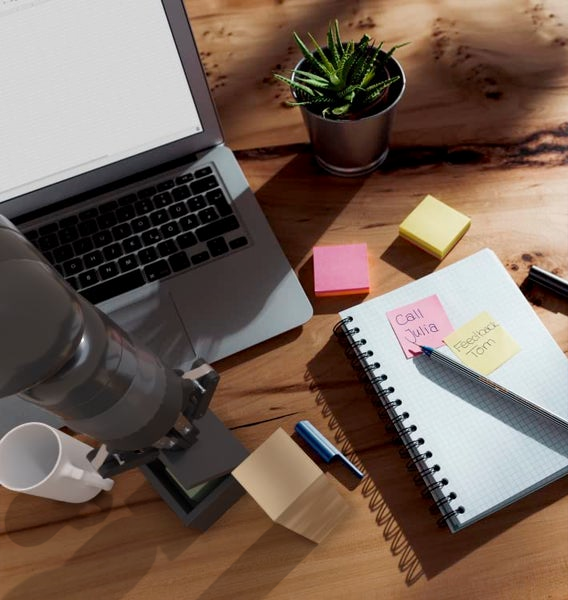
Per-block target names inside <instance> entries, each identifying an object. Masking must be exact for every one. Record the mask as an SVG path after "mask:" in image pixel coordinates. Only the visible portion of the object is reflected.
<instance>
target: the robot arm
mask: <svg viewBox="0 0 568 600" xmlns="http://www.w3.org/2000/svg"><path fill="white" fill-rule="evenodd" d="M220 380H221V375H219V373H218V372H217V371H216V370H215V369H214V368H213V367H212V366H211V365H210V364H209V362H207V360H205V359H204V358H203V357H199V358H197V359H196V360H194V362H192V364H191V367H190V369H189V370H188V371H187V372H185V371H184V370H183V369H181V368H171V367H170V366H169V365H168V364H167V363H166V362H164V360H163V359H162V358H160V357H159V356H158V355H157V353H155V352H154V351H153V350H151V348H150V347H148V345H147V344H145V343H144V342H143V341H142V340H140V339H139V337H137V336H136V335H134V334H131V333H130V332H129V331H126V330H124V329H123V328H122V326H120V325H119V324H118V323H116V321H114V320H113V319H112V318H111V317H110V316H109V315H108V314H106V312H104V311H103V310H102V309H101V308H99V307H97V306H96V305H94V304H93V303H92V302H90V301H89V300H88V299H87V298H85V297H84V296H83V295H82V294H81V293H79V292H78V291H77V289H75V288H74V287H73V286H72V285H71V284H70V283H69V282H68V281H67V280H66V279H65V278H64V276H62V275H61V273H60V272H59V271H58V270H57V269H56V268H55V267H54V266H53V264H51V262H50V261H49V260H48V259H47V258H46V257H45V256H44V255H43V254H42V252H40V250H39V249H38V248H37V247H36V246H35V245H34V244H33V243H32V242H31V241H30V240H29V239H28V238H27V236H26V235H24V233H22V232H21V231H20V230H19V228H18V227H17V226H16V225H15V224H14V223H13V222H12V221H11V220H10V219H8V218H7V217H6V216H5V215H3V214H1V213H0V400H2V399H5V398H8V397H11V396H16V397H18V398H19V399H20V400H21V401H24V402H25V403H27V404H29V405H31V406H34V407H36V408H37V409H40V410H42V411H44V412H45V413H48V414H50V415H51V416H52V417H54V418H55V419H56V420H57V421H58V422H60V423H61V424H63V425H64V426H65V427H67V428H68V429H69V430H71V431H72V432H74V433H75V434H77V435H79V436H80V435H82V436H83V435H84V436H85V437H88V438H90V439H92V440H94V441H95V442H98V443H99V444H101V446H98V447H94V449H93V450H91V451H90V452H89V453H88V454H87V455H86V458H87V460H88V461H89V462H90V463H91V465H92V466H93V468H94V469H95V470H96V471H97V472H98V473H99V475H100V476H101V477H102V478H103V479H107V478H109V479H111V478H113V477H115V476H117V475H120V474H122V473H126V472H127V471H130V470H133V469H136V468H137V467H138V466H141V465H143V464H146V463H148V462H151V461H153V460H155V459H156V458H157V457H158V456H159V455H160V452H159V450H160V449H162V448H163V447H164V448H167V449H170V448H171V449H173V450H175V451H180V450H181V449H182V448H184V449H185V450H188V449H189V448H190V447H192V446H193V445H194V444H195V443H196V442H197V441H198V440H199V439H198V438H197V437H196V436H197V435H198V434H199V433H200V430H199V429H198V428H197V427H196V426H195V424H194V423H193V420H194V419H195V420H199V419H201V418H202V417H203V416H204V415H205V414H206V411H207V409H208V407H209V406H210V403H211V402H212V399H213V397H214V394H215V392H216V389H217V387H218V385H219V382H220ZM209 408H210V407H209ZM137 450H139V451H140V452H141V453H136V452H135V451H137Z"/></svg>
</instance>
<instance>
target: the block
mask: <svg viewBox="0 0 568 600" xmlns="http://www.w3.org/2000/svg"><path fill="white" fill-rule="evenodd" d="M165 469H166V470H167V471H168V472H169V474H170V475H171V476H172V477H173V478H174V480H175V481H176V482H177V483H178V484H179V485H180V487H181V488H182V489H183V490H184V491H185V492H186V494H187V495H188V496H189V497H190V498H191V499H193V500H196V501H198V502H202V501H203V500H204V499H205V498H206V497H207V496H208V495H209V494H210V493H211V492H213V491H214V490H215V489H216V488H217V487H218V486H219V485H220V484H221V483H222V482H223V481H224V480H225V479H226V478H227V477H229V476H230V475H231V473H232V472H230V473H228V474H226V475H223V476H221V477H218V478H216V479H214V480H211V481H209V482H207V483H204V484H202V485H200V486H197V487H195V488H192V489H190V490H188V491H186V489H185V488H184V487H183V486H182V485H181V484H180V482H179V481H178V480H177V479H176V478H175V476H174V475H173V474H172V473H171V472H170V471H169V469H168V468H167V467H166V468H165Z"/></svg>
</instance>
